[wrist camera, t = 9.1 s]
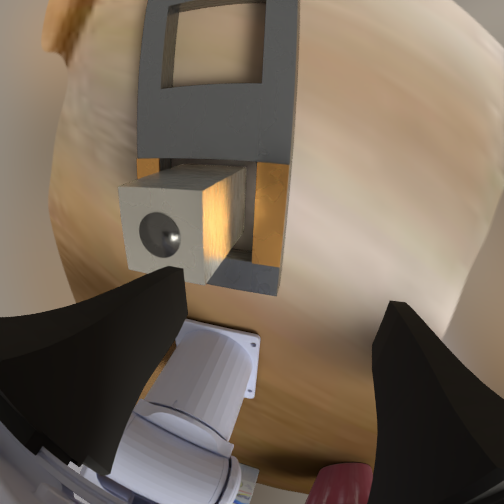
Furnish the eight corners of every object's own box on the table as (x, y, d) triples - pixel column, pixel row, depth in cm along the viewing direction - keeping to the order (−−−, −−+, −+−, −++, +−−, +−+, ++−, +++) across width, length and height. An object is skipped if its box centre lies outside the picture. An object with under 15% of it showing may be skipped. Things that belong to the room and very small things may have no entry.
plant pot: (381, 450, 28) (378, 524, 17) (389, 472, 32) (387, 529, 21) (292, 461, 33) (276, 528, 22) (318, 482, 37) (308, 535, 26)
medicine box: (243, 475, 41) (232, 508, 34) (224, 468, 41) (211, 502, 34) (260, 469, 38) (249, 507, 30) (238, 462, 38) (225, 500, 30)
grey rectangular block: (243, 231, 19) (204, 286, 12) (185, 223, 19) (128, 270, 13) (246, 167, 17) (201, 191, 11) (183, 163, 18) (117, 186, 11)
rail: (279, 284, 20) (276, 297, 18) (157, 263, 22) (147, 272, 20) (300, -22, 10) (297, -34, 9) (160, -6, 12) (149, -13, 10)
